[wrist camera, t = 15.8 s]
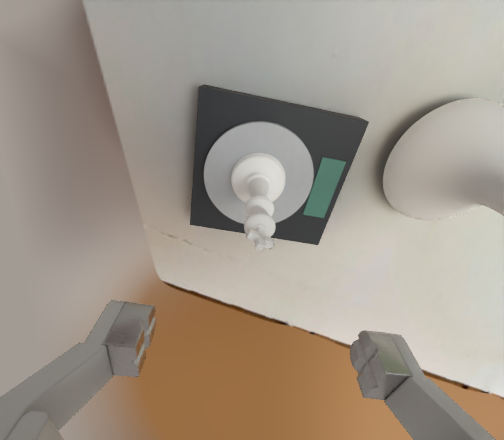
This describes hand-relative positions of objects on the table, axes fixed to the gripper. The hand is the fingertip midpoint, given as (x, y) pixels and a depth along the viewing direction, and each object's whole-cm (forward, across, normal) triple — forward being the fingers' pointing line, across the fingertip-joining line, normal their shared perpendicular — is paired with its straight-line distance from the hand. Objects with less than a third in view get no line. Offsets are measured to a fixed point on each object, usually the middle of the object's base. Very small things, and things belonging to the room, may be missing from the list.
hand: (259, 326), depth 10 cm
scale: (+18, -1, 0) cm, 18 cm away
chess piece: (+15, 0, 0) cm, 15 cm away
